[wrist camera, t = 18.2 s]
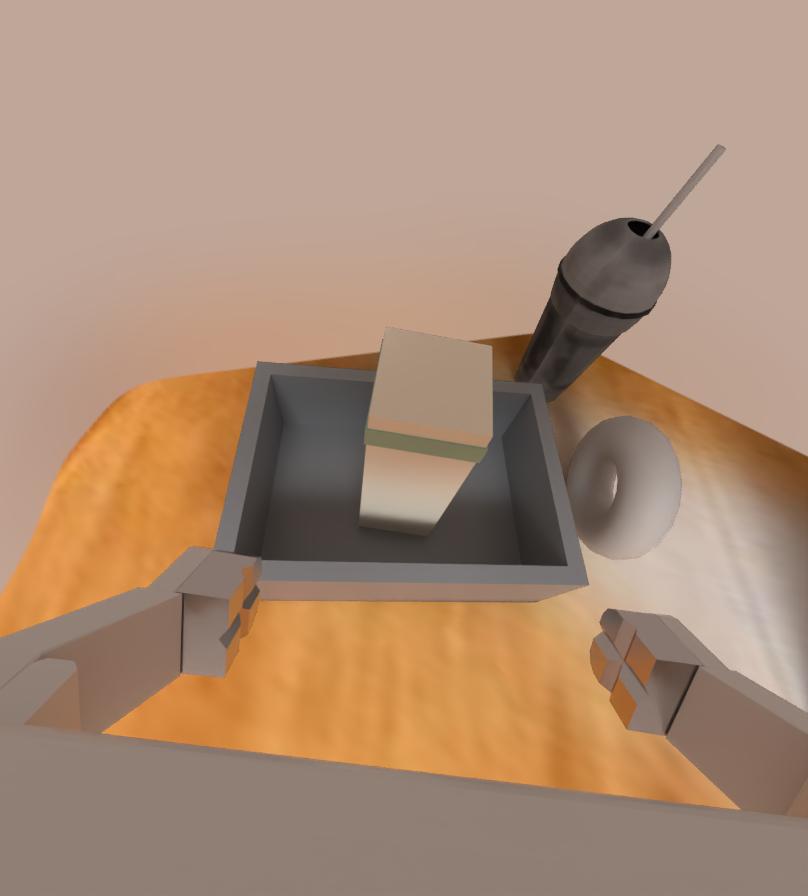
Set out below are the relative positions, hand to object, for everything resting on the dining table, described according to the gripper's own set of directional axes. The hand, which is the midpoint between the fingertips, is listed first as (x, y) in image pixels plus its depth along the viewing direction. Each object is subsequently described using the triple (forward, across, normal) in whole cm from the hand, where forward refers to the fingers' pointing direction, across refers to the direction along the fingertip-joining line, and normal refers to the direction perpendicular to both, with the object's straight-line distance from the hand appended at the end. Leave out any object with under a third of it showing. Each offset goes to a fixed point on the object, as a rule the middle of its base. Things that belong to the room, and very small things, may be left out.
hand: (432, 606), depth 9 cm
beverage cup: (+30, -12, -4) cm, 33 cm away
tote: (+20, 0, +6) cm, 20 cm away
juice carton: (+19, 0, +5) cm, 20 cm away
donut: (+21, -15, +5) cm, 26 cm away
